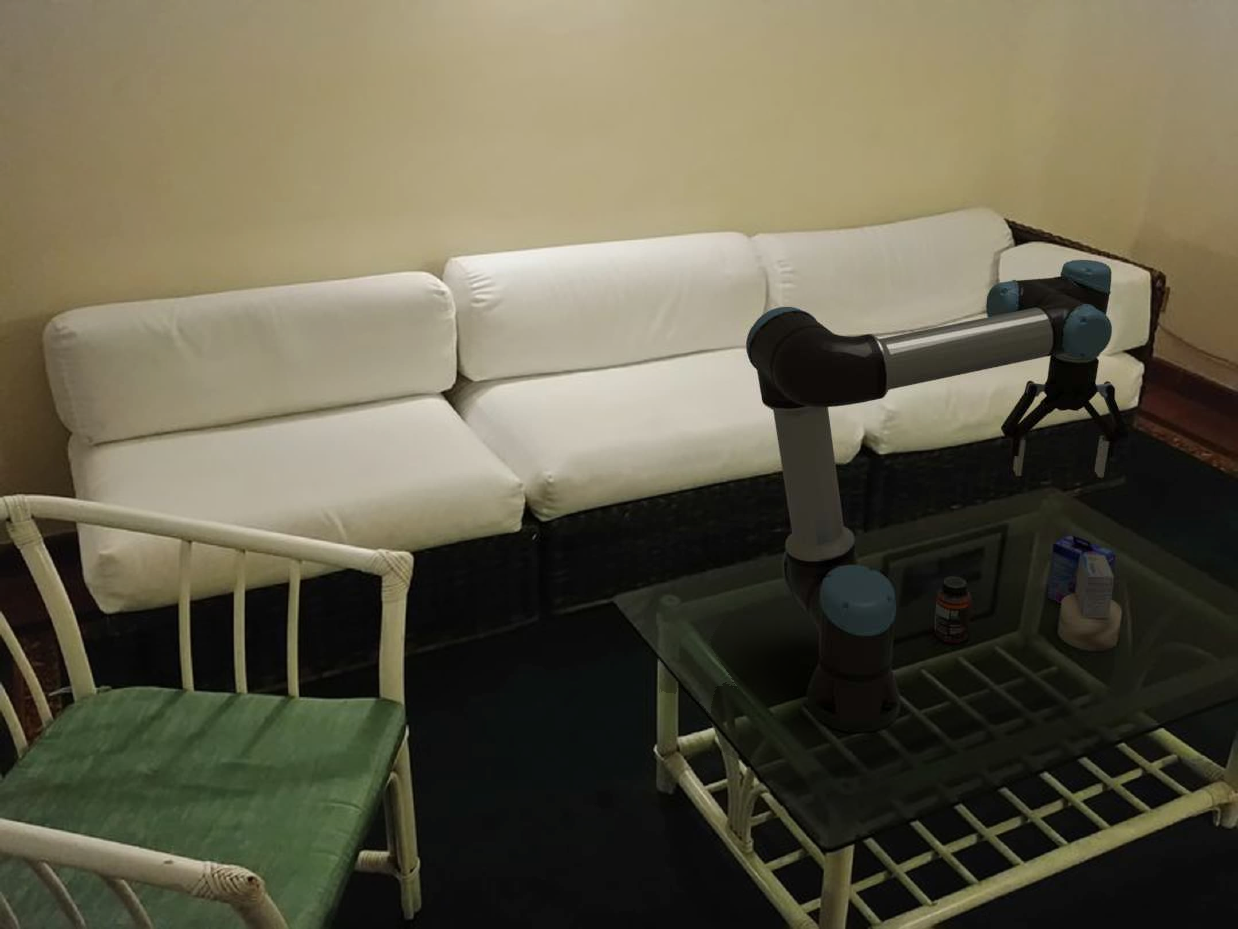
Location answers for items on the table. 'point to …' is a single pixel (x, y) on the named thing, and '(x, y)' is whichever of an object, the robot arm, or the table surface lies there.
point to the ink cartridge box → (1071, 564)
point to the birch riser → (1088, 626)
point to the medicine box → (1094, 586)
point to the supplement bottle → (953, 611)
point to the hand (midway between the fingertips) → (1057, 473)
